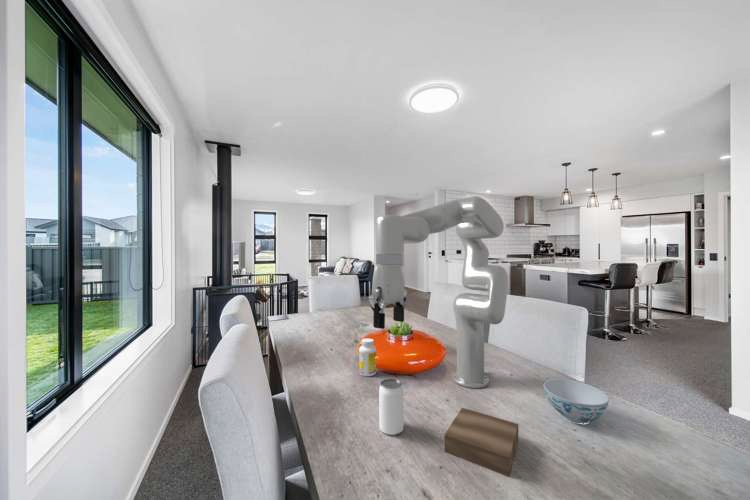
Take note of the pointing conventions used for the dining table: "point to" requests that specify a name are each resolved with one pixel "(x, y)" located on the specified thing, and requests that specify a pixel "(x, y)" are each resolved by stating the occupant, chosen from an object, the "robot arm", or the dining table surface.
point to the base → (482, 440)
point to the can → (391, 407)
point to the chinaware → (576, 400)
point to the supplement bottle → (367, 358)
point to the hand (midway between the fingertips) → (389, 324)
